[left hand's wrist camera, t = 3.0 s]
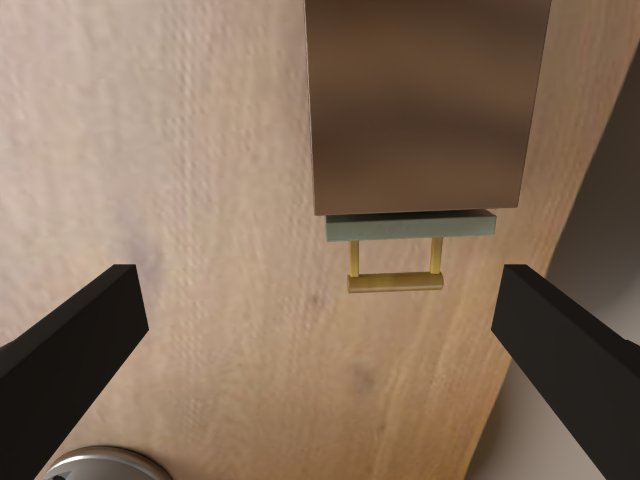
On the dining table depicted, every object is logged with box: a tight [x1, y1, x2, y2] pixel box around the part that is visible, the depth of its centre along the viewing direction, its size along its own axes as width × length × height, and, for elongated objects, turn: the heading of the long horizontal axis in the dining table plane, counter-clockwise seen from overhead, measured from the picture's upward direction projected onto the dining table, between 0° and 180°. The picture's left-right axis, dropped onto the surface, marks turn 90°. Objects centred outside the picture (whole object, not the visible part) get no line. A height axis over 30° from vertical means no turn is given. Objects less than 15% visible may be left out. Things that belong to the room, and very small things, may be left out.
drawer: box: [325, 209, 496, 293], centre depth 22 cm, size 24×10×8 cm, turn 2°
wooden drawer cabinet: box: [304, 0, 551, 216], centre depth 20 cm, size 19×11×10 cm, turn 2°
